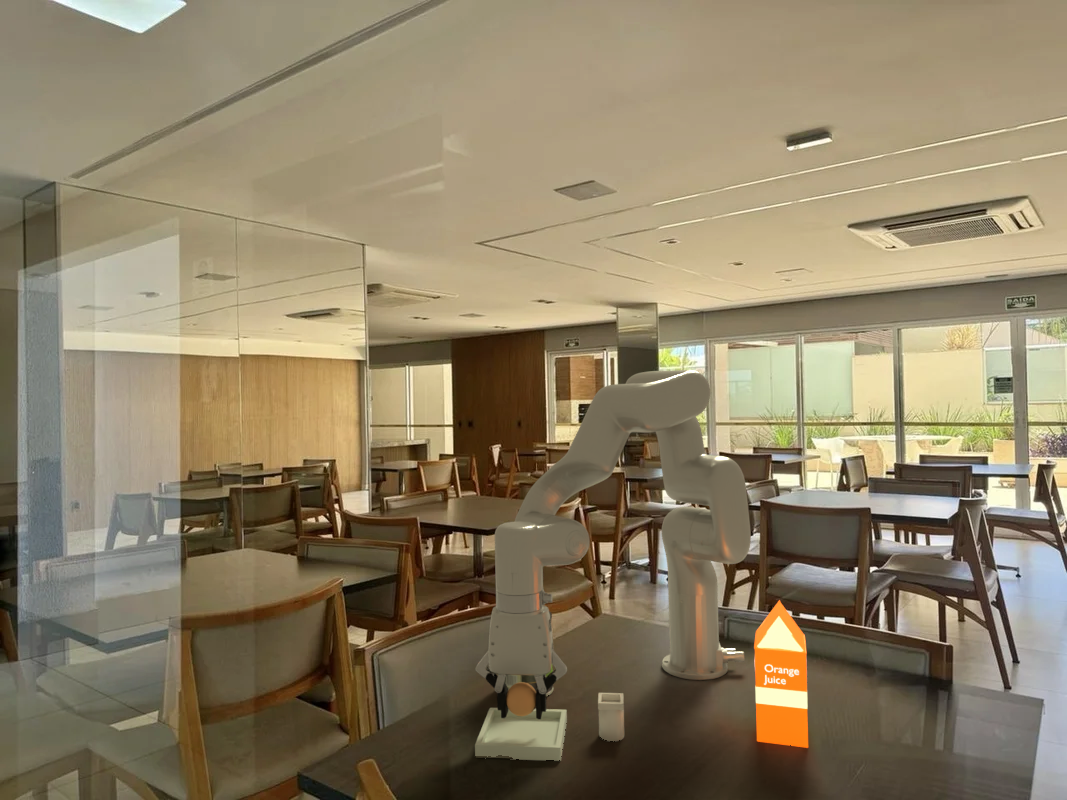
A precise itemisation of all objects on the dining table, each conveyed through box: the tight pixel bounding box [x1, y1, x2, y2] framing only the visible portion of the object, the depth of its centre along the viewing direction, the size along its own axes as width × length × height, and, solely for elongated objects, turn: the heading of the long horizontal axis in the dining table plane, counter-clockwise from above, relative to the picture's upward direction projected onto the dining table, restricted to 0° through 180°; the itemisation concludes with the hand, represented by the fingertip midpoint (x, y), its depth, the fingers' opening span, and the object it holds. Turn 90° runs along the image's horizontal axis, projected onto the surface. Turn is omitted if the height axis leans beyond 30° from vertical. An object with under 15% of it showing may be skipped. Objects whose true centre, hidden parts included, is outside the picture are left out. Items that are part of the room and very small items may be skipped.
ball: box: [506, 682, 536, 716], centre depth 115 cm, size 5×5×5 cm
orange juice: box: [753, 599, 809, 749], centre depth 116 cm, size 8×9×20 cm
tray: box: [474, 707, 568, 762], centre depth 115 cm, size 13×13×2 cm
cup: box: [597, 692, 625, 743], centre depth 116 cm, size 4×4×6 cm
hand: (522, 713), depth 115 cm, fingers closed on ball, 4 cm apart
